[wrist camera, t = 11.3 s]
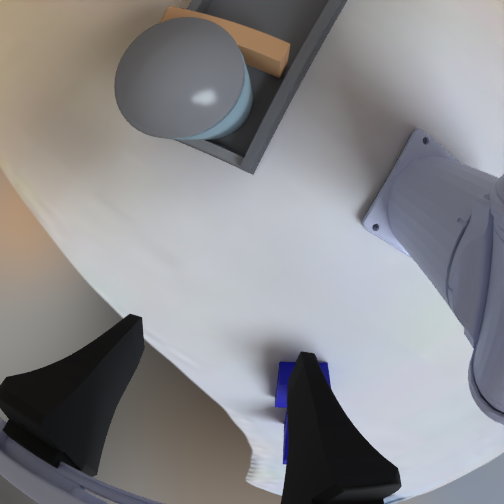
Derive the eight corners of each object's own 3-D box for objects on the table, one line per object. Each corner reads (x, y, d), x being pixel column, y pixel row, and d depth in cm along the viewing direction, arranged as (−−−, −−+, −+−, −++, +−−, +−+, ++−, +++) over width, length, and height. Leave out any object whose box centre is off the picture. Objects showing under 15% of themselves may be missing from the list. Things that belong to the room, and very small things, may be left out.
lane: (377, -50, 9) (391, -70, 6) (253, 173, 18) (248, 185, 15) (270, -88, 8) (268, -112, 5) (141, 125, 17) (115, 128, 14)
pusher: (287, 65, 14) (290, 43, 10) (279, 78, 14) (280, 61, 10) (197, 32, 13) (169, 5, 9) (190, 45, 14) (159, 22, 9)
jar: (271, 87, 14) (272, 51, 8) (222, 155, 16) (192, 165, 10) (200, 48, 14) (161, 1, 7) (155, 114, 15) (93, 105, 9)
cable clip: (279, 360, 25) (277, 413, 20) (327, 361, 25) (333, 413, 19) (271, 422, 30) (269, 463, 25) (308, 423, 30) (309, 464, 25)
